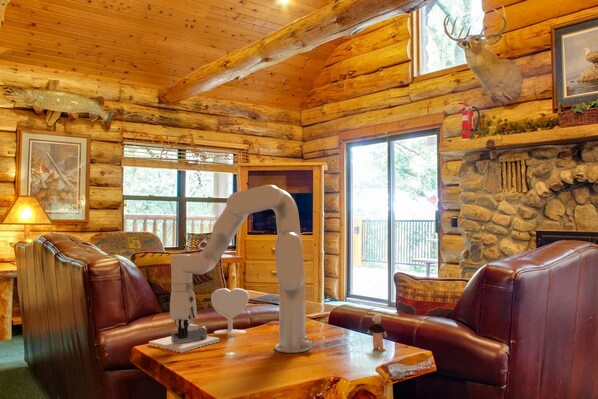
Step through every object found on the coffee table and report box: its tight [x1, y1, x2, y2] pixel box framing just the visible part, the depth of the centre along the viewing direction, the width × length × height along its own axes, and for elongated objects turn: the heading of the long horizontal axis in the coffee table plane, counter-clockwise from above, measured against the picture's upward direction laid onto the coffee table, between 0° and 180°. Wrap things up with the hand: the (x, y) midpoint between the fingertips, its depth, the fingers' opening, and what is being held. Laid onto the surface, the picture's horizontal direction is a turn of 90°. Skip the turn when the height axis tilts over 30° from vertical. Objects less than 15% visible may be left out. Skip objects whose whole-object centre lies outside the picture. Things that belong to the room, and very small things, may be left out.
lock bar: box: [171, 326, 208, 343], centre depth 184 cm, size 14×3×4 cm, turn 125°
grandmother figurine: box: [366, 313, 388, 353], centre depth 175 cm, size 8×4×13 cm, turn 65°
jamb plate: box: [148, 323, 221, 354], centre depth 186 cm, size 18×19×6 cm
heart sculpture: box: [210, 287, 250, 334], centre depth 206 cm, size 16×5×18 cm, turn 91°
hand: (183, 338), depth 179 cm, fingers closed
